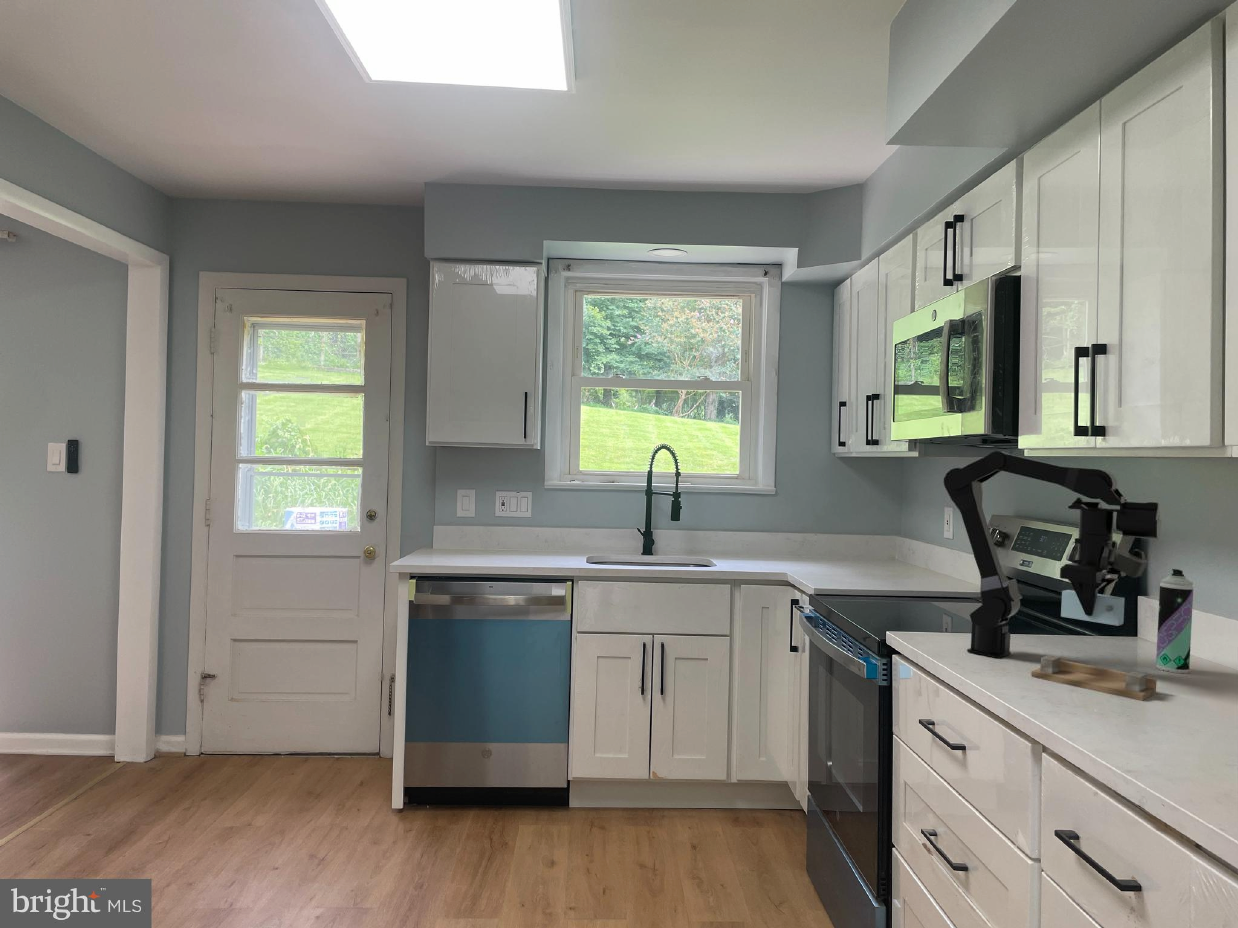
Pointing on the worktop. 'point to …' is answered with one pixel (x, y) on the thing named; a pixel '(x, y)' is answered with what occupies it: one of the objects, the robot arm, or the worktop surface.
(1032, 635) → the worktop surface
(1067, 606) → the door panel
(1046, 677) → the rail
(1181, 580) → the spray can
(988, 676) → the worktop surface
